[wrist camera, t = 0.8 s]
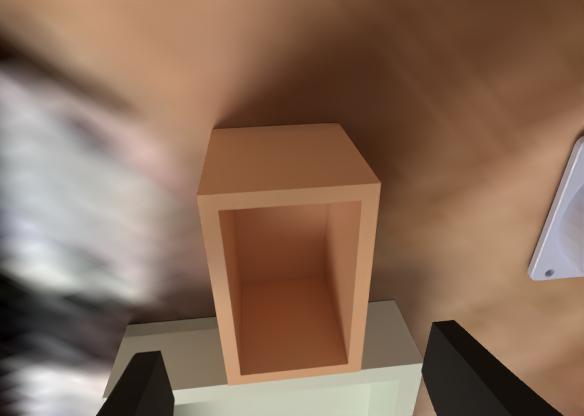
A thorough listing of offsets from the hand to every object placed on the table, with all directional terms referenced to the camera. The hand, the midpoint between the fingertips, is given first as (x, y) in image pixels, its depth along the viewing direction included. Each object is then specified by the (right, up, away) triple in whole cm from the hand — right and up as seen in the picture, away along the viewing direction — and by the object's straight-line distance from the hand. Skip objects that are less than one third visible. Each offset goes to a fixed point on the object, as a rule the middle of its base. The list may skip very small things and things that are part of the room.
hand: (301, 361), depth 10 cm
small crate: (-1, +4, +7) cm, 8 cm away
